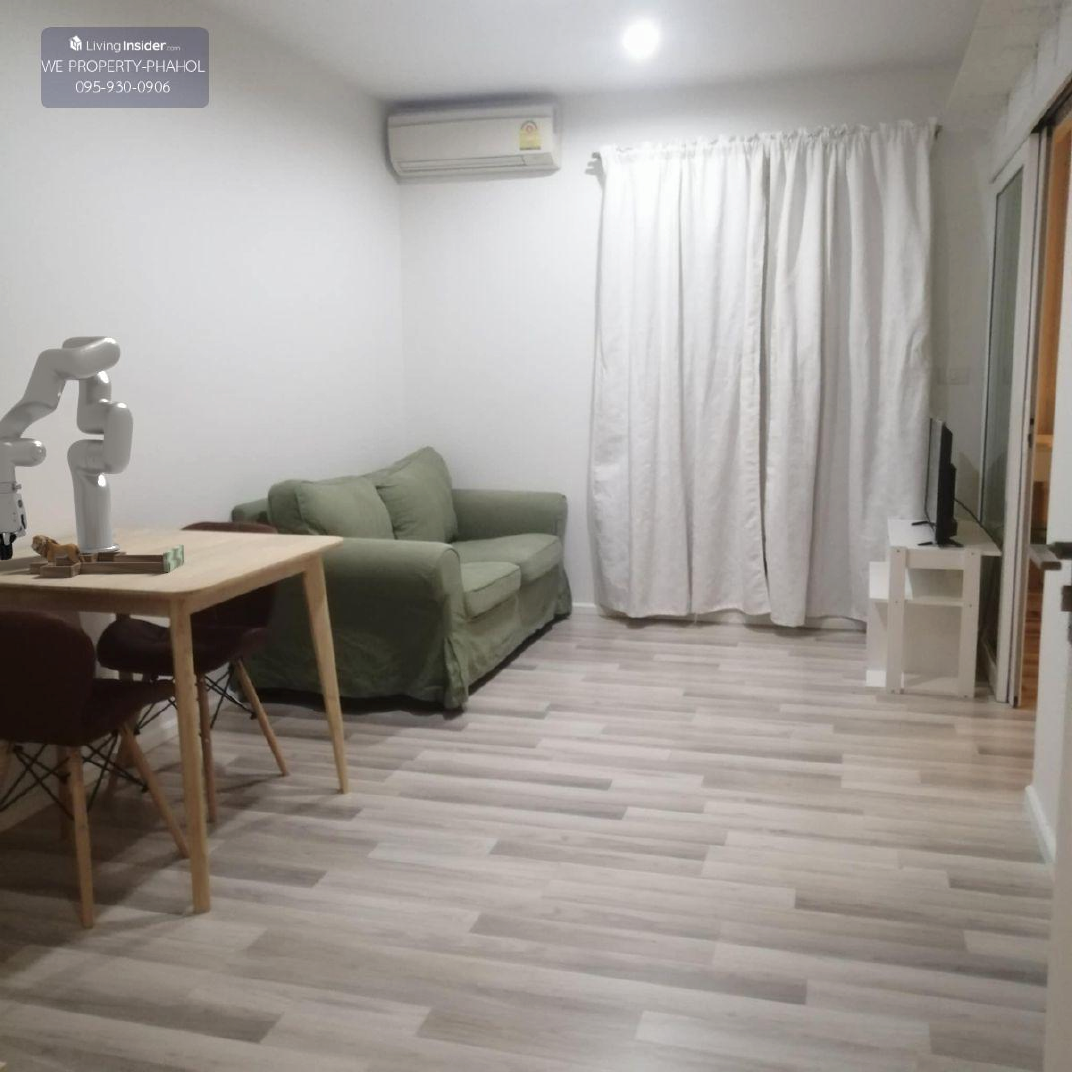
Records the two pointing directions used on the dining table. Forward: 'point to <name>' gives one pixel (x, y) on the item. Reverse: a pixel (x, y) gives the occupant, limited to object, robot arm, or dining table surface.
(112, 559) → the wooden walled channel
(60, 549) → the lion figurine
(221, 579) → the dining table surface
